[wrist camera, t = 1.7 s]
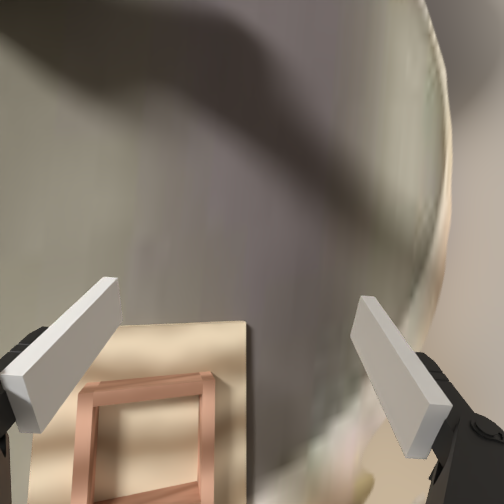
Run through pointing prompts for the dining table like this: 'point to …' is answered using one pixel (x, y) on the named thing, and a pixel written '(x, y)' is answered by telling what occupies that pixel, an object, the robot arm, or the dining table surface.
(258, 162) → the dining table surface
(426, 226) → the dining table surface
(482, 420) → the robot arm
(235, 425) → the holder
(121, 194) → the dining table surface
